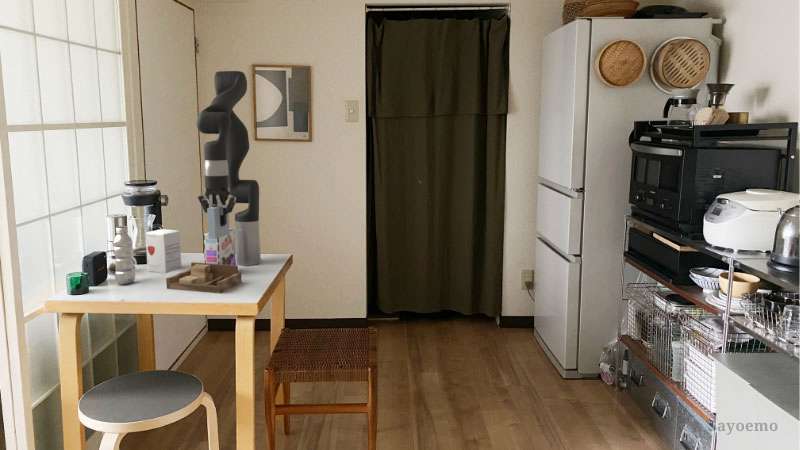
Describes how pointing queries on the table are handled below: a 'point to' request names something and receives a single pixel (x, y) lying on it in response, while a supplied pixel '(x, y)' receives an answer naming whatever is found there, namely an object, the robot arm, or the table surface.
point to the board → (216, 223)
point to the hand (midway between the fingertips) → (218, 225)
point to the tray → (221, 281)
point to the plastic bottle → (123, 256)
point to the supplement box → (163, 250)
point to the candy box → (220, 249)
